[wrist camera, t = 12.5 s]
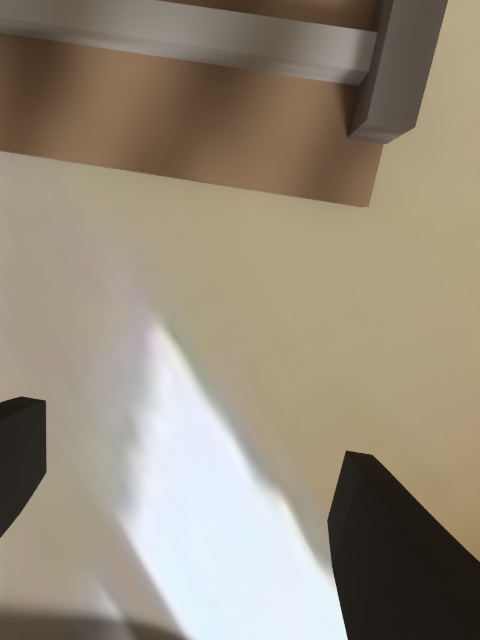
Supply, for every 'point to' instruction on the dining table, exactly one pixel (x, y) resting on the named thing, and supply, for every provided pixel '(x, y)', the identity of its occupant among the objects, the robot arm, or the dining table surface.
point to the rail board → (218, 87)
